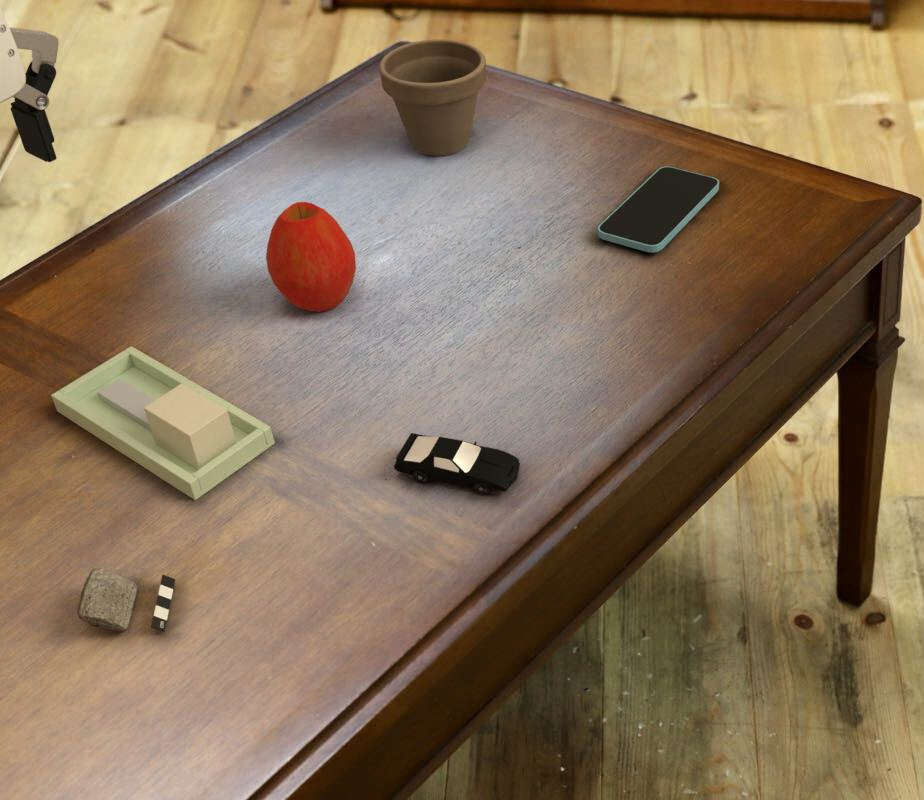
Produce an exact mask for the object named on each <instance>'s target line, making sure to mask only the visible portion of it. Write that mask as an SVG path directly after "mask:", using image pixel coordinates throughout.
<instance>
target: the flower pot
mask: <svg viewBox="0 0 924 800" xmlns="http://www.w3.org/2000/svg"><path fill="white" fill-rule="evenodd" d="M378 69H379V74H380V81H381V87H382V89H383V91H384V93H386V94H387V95H388V96H389V97H391V98H392V100H393V103H394V105H395V107H396V110H397V112H398V115H399V118H400V120H401V123H402V126H403V128H404V130H405V133H406V135H407V137H408V140H409V142H410V144H411V146H412V147H413V149H414V150H415V151H417V152H419V153H420V154H422V155H427V156H432V157H433V156H435V157H438V156H439V157H440V156H441V157H442V156H449V155H452V154H455V153H458V152H459V151H462V150H463V149H464V148H466V147H467V146H468V144H469V142H470V139H471V134H472V130H473V125H474V120H475V114H476V106H477V100H478V94H479V91H481V89H482V88H483V86H484V85H485V83H486V82H487V81H486V79H487V60H486V56H485V54H484V53H483V52H482V50H480V49H479V48H478V47H476V46H474V45H472V44H469V43H467V42H463V41H459V40H454V39H441V38H440V39H435V38H434V39H424V40H418V41H413V42H410V43H405V44H403V45H401V46H398V47H395V48H394V49H393V50H390V51H389V52H388V53H386V54H384V56H383V57H382V58H381V60H380V61H379V68H378Z"/></svg>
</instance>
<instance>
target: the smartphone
mask: <svg viewBox="0 0 924 800" xmlns="http://www.w3.org/2000/svg"><path fill="white" fill-rule="evenodd" d="M719 191H720V180H719V179H718V178H716V177H713V176H710V175H705V174H701V173H697V172H693V171H691V170H685V169H681V168H677V167H674V166H667V165H666V166H662V167H659V168H658V169H656V171H655V172H653V173H652V174H651V175H650V176H649V177H648V178H647V179H646V180H645V181H644V182H642V184H641V185H640V186H638V188H637V189H636V190H635V191H633V193H631V194H630V195H629V196H628V197H627V198H626V199H625V200H624V201H623V202H622V203H620V205H619V206H618V207H617V208H615V210H614V211H612V213H610V214H609V215H608V216H607V217H606V218H605V219H604V220H603V221H602V222H601V223H600V224H599V225H598V227H597V237H598V238H599V239H601V240H603V241H607V242H611V243H614V244H618V245H620V246H625V247H628V248H632V249H635V250H639V251H641V252H646V253H652V254H653V253H658V252H660V251H662V250H663V249H664V248H665V247H666V246H667V245H668V244H669V243H670V242H671V241H672V240H673V239H674V238H675V237H676V235H678V233H679V232H680V231H682V229H683V228H684V227H685V226H686V225H687V224H688V223H689V222H690V221H691V220H692V219H693V218H694V217H695V216H696V215H697V214H698V213H699V211H701V210H702V208H703V207H704V206H706V204H708V202H709V201H710V200H711V199H712V198H713V197H714V196H715V195H716V194H717V193H718V192H719Z"/></svg>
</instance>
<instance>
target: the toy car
mask: <svg viewBox="0 0 924 800" xmlns="http://www.w3.org/2000/svg"><path fill="white" fill-rule="evenodd" d="M520 466H521V462H520V459H519V458H518V457H517V456H515V455H513V454H511V453H509V452H507V451H504V450H501V449H498V448H494V447H489V446H482V445H478V444H477V441H476V440H475V441H474V443H471V442H468V441H465V440H461V439H455V438H449V437H443V436H431V435H425V434H418V433H414V432H410V434H409V435H408V437H407V438H406V441H405V442H404V444H403V446H402V447H401V448H400V451H399V452H398V454H397V455H396V457H395V464H394V465H393V469H394V470H395V471H396V472H397V473H401V474H404V475H407V476H410V477H412V479H413V480H414V481H415V482H416V483H418V484H421V485H425V484H428V482H429V481H431V482H435V483H439V484H445V485H449V486H455V487H461V488H465V489H471V490H473V491H474V492H475V493H476V494H477V495H480V496H487V495H488V494H489V493H490V492H491V491H495V492H496V491H497V492H507V491H508V490H509V489H510V488H511V487H512V485H513V484H514V483H515V482H516V481H517V480H518V476H519V471H520Z"/></svg>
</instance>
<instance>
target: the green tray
mask: <svg viewBox="0 0 924 800" xmlns="http://www.w3.org/2000/svg"><path fill="white" fill-rule="evenodd" d="M117 379H121V380H123V381H124V382H126V383H128V384H129V385H131V386H133V387H134V388H136V389H138V390H139V391H141V392H143V393H144V394H146V395H148V396H149V397H151V398H153V399H154V400H157V399H158V398H160V397H161V396H163V395H164V394H166V393H167V392H169V391H171V390H172V389H174V388H175V387H177V386H178V385H180V384H184V385H185V386H187V387H189V388H190V389H192V390H194V391H195V392H197V393H199V394H201V395H202V396H204V397H206V398H207V399H209V400H211V401H213V402H214V403H216V404H218V405H219V406H221V407H223V408H225V409H226V410H227V411H228V415H229V419H230V422H231V426H232V429H233V433H234V436H235V440H236V444H235V445H233V446H232V447H230V448H229V449H227V450H226V451H225V452H223V453H222V454H220V455H219V456H217V457H216V458H215V459H213V460H212V461H210V462H209V463H207V464H206V465H205V466H203V467H202V468H200V469H199V470H197V469H196V468H194V467H193V466H191V465H189V464H188V463H186V462H185V461H183V460H181V459H180V458H178V457H177V456H175V455H173V454H172V453H170V452H169V451H167V450H165V449H164V448H162V447H161V446H159V445H158V444H156V443H155V440H154V437H153V434H152V431H151V430H149V429H147V428H146V427H144V426H143V425H141V424H139V423H138V422H136V421H135V420H133V419H131V418H130V417H128V416H127V415H125V414H123V413H122V412H120V411H118V410H117V409H115V408H114V407H112V406H110V405H109V404H107V403H106V402H104V401H102V400H101V399H99V396H98V394H97V392H98V391H99V390H101V389H102V388H104V387H106V386H107V385H109V384H111V383H112V382H114V381H115V380H117ZM50 396H51V398H52V399H51V400H52V401H53V405H54V407H55V409H56V412H57V413H59V414H61V415H62V416H63V417H65V418H67V419H68V420H70V421H71V422H72V423H74V424H76V425H77V426H79V427H81V428H82V429H84V430H86V431H87V432H88V433H90V434H92V435H93V436H94V437H96V438H97V439H99V440H101V441H102V442H104V443H105V444H107V445H108V446H110V447H112V448H113V449H115V450H116V451H117V452H119V453H120V454H123V455H124V456H125V457H127V458H129V459H130V460H132V461H134V462H135V463H137V464H138V465H140V467H141V466H142V467H143V468H144V469H145V470H147V471H149V472H151V473H152V474H154V475H155V476H157V477H158V478H160V479H161V480H163V481H164V482H166V483H167V484H169V485H171V486H172V487H174V488H175V489H176V490H178V491H180V492H181V493H183V494H185V495H186V496H188V497H189V498H191V499H192V500H194V501H196V500H198V499H199V498H200V497H202V496H203V495H205V494H206V493H207V492H209V491H211V490H212V489H213V488H215V487H216V486H218V485H219V484H220V483H222V482H223V481H225V480H226V479H227V478H229V477H230V476H231V475H234V473H235V472H237V471H238V470H240V469H242V468H243V467H244V466H245V465H247V464H248V463H250V462H251V461H252V460H254V459H256V457H258V456H259V455H261V454H262V453H264V452H265V451H267V449H269V448H270V447H272V446H273V445H275V444H276V441H275V439H274V435H273V431H272V427H271V426H270V425H268V424H266V423H265V422H263V421H261V420H260V419H258V418H256V417H254V416H252V414H249V413H247V412H246V411H244V410H242V409H240V408H239V407H238V406H236V405H234V404H232V403H230V402H228V401H227V400H225V399H223V398H222V397H220V396H219V395H216V394H214V393H213V392H212V391H209V390H208V389H206V388H204V387H203V386H201V385H199V384H198V383H196V382H194V381H192V380H191V379H189V378H187V377H185V376H184V375H182V374H180V373H178V372H176V371H175V370H173V369H171V368H170V367H168V366H167V365H164V364H163V363H161V362H159V361H158V360H156V359H154V358H153V357H151V356H150V355H147V354H145V353H144V352H142V351H140V350H139V349H137V348H135V347H134V346H132V345H130V346H129V347H127V348H126V349H124V350H123V351H121V352H119V353H117V354H116V355H114V356H112V357H111V358H109V359H108V360H106V361H104V362H103V363H101V364H100V365H98V366H96V367H94V368H93V369H92V370H90V371H88V372H87V373H84V374H83V375H81V376H80V377H78V378H77V379H75V380H73V381H72V382H70V383H69V384H66V385H65V386H64V387H62V388H60V389H59V390H57V391H55V392H54V393H52V394H50Z"/></svg>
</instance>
